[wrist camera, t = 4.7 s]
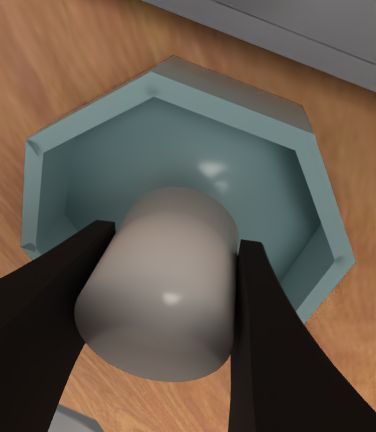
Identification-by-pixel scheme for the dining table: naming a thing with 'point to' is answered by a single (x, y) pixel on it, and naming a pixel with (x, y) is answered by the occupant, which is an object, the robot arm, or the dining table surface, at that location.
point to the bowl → (192, 170)
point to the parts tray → (297, 30)
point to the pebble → (165, 288)
